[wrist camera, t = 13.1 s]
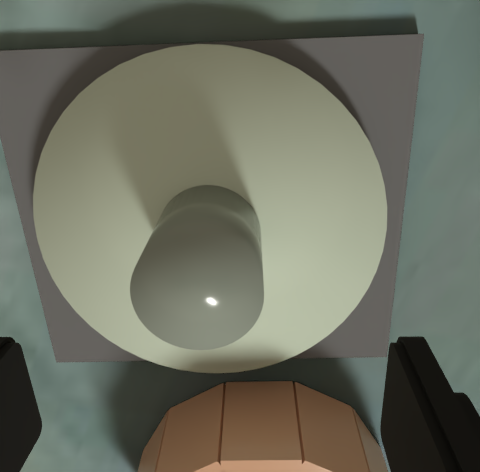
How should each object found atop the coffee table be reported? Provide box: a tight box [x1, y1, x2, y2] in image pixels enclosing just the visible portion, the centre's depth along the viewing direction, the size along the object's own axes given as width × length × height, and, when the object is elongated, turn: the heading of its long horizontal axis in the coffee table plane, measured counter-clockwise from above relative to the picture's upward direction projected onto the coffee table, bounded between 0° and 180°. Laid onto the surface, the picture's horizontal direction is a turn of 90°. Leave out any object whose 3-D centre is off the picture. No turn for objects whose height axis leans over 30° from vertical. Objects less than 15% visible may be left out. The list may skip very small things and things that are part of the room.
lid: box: [33, 44, 387, 373], centre depth 18 cm, size 15×15×6 cm
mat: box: [0, 34, 424, 362], centre depth 21 cm, size 17×15×1 cm
